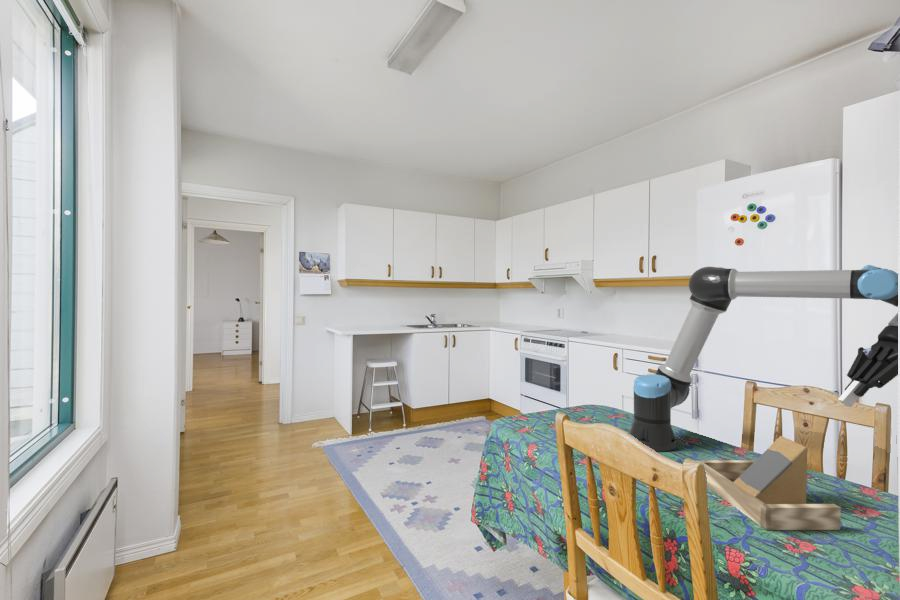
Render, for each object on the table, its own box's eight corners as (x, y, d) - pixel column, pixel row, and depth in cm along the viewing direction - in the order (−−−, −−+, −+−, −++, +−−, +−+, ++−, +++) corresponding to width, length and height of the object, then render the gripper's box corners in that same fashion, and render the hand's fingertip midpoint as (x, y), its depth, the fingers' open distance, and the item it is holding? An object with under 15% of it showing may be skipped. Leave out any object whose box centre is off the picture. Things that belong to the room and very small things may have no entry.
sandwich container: (722, 490, 111) (722, 435, 111) (779, 490, 111) (780, 435, 111) (744, 506, 102) (744, 446, 102) (807, 507, 102) (807, 446, 102)
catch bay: (753, 477, 118) (753, 460, 118) (840, 529, 92) (840, 507, 92) (695, 477, 118) (695, 460, 118) (765, 530, 92) (766, 507, 92)
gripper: (946, 346, 100) (880, 420, 101) (890, 338, 113) (832, 404, 114) (922, 327, 100) (857, 402, 101) (869, 321, 113) (811, 388, 114)
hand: (844, 403), depth 108 cm, fingers closed
